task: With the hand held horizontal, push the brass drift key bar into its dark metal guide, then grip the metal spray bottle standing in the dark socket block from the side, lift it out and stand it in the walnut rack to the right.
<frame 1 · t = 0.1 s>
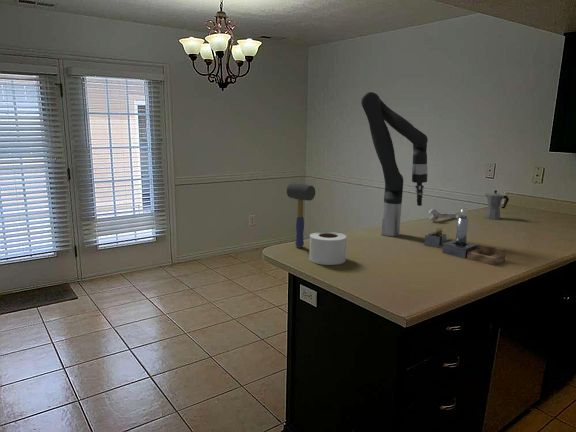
hand: (419, 204, 225), 17 cm above the worktop, tool pointing down, fingers open, 8 cm apart
roll of tape: (327, 260, 186), on the worktop
rack: (485, 259, 190), on the worktop
key guide: (442, 241, 221), on the worktop
rubber mallet: (299, 247, 205), on the worktop
socket block: (459, 253, 199), on the worktop
wrench: (443, 220, 272), on the worktop
drift key: (443, 233, 220), point 4 cm above the worktop, slide at 0.0 cm
coffeepot: (494, 218, 279), on the worktop
metal spray bottle: (460, 248, 199), point 2 cm above the worktop, touching socket block
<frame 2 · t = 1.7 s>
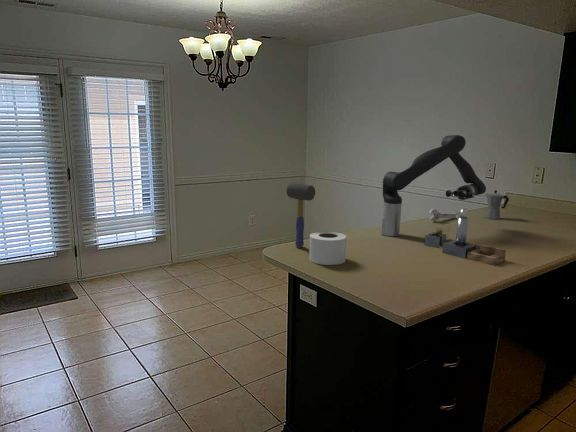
hand: (454, 195, 224), 22 cm above the worktop, tool horizontal, fingers open, 6 cm apart
nothing on the worktop moved.
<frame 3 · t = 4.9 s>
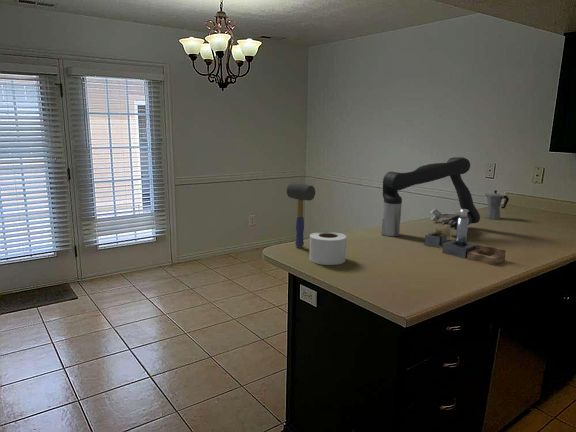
hand: (447, 226, 223), 6 cm above the worktop, tool horizontal, fingers closed
drift key: (442, 233, 219), point 4 cm above the worktop, slide at 0.6 cm, touching gripper
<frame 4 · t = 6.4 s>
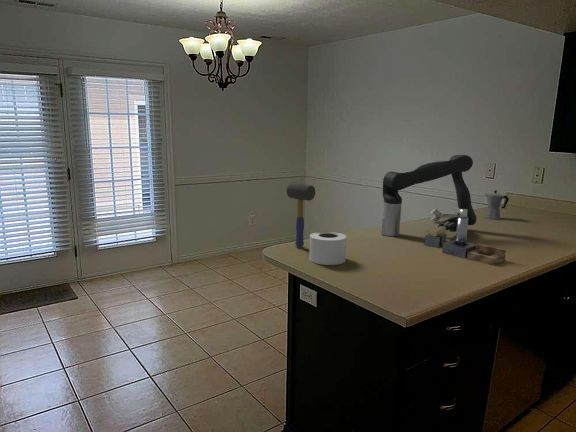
hand: (443, 228, 219), 6 cm above the worktop, tool horizontal, fingers closed
drift key: (437, 236, 215), point 4 cm above the worktop, slide at 7.0 cm, touching gripper
everything else where it was.
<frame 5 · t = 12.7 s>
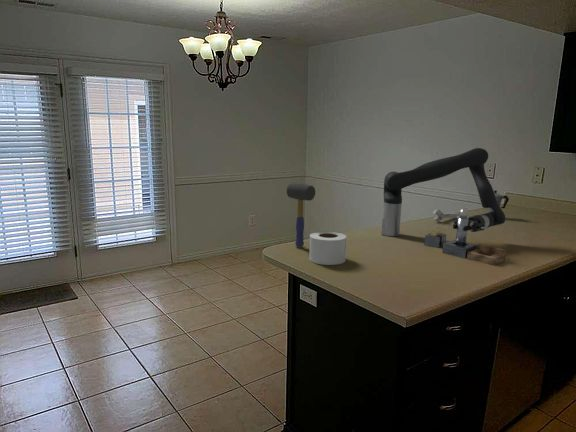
hand: (459, 227, 195), 13 cm above the worktop, tool horizontal, fingers closed on metal spray bottle, 4 cm apart
drift key: (437, 236, 215), point 4 cm above the worktop, slide at 7.0 cm
metal spray bottle: (460, 248, 199), point 3 cm above the worktop, touching gripper, socket block
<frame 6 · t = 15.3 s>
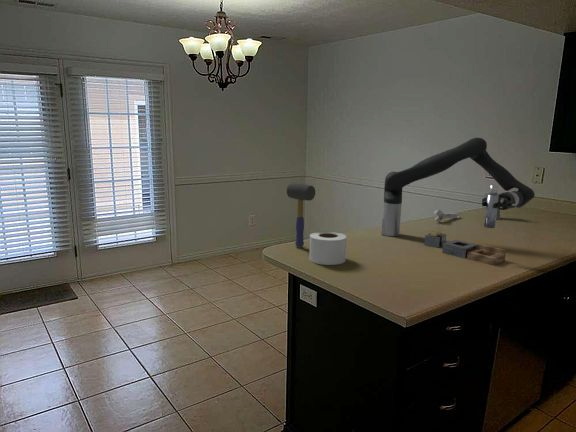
hand: (489, 204, 184), 25 cm above the worktop, tool horizontal, fingers closed on metal spray bottle, 4 cm apart
metal spray bottle: (489, 226, 188), point 15 cm above the worktop, touching gripper
when the fingers open (12 cm above the worktop, at t = 18.1 s): metal spray bottle stays where it is, resting on rack.
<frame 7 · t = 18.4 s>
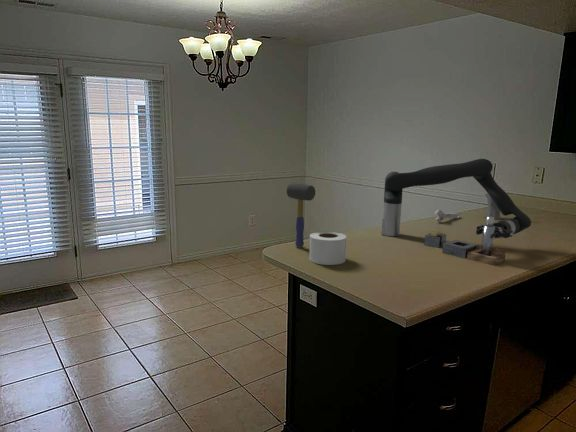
hand: (486, 233, 187), 12 cm above the worktop, tool horizontal, fingers open, 7 cm apart
metal spray bottle: (485, 257, 190), point 1 cm above the worktop, touching rack
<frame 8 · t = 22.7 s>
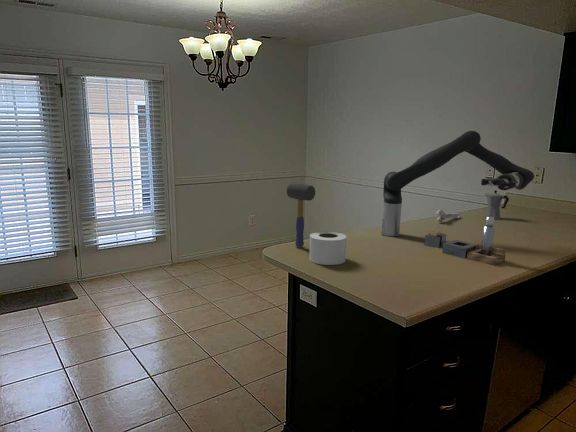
hand: (491, 184, 194), 32 cm above the worktop, tool horizontal, fingers open, 8 cm apart
at the end: metal spray bottle inside the target area on the rack (0.2 cm from its centre), point 1.0 cm above the rack's base; metal spray bottle tilted 0°; drift key slide at 7.0 cm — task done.
